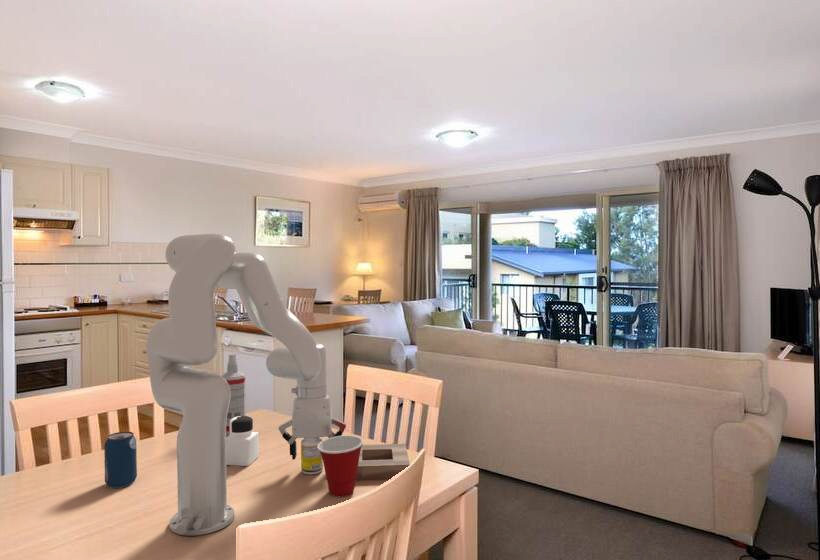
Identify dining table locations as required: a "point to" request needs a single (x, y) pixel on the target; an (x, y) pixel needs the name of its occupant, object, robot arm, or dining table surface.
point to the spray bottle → (235, 391)
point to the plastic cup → (341, 463)
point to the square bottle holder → (381, 461)
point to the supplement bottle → (311, 456)
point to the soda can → (120, 459)
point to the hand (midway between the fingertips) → (313, 456)
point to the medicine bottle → (242, 442)
